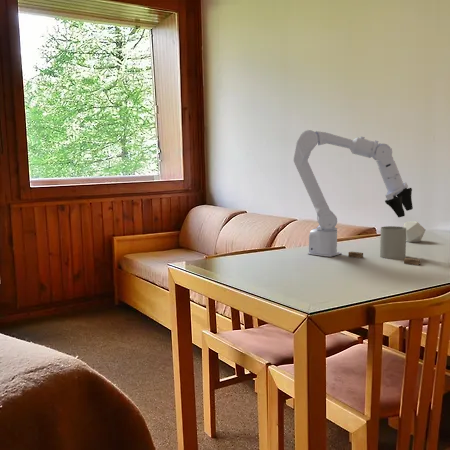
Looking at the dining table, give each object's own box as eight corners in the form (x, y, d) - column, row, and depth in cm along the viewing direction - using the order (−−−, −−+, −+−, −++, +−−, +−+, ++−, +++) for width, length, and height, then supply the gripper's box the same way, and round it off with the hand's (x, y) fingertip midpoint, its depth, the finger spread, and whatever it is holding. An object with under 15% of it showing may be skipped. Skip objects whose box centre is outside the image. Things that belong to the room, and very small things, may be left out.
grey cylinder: (408, 255, 174) (409, 227, 173) (402, 259, 167) (403, 230, 166) (383, 253, 179) (384, 225, 178) (376, 257, 172) (377, 228, 171)
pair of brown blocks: (348, 256, 174) (348, 252, 174) (351, 255, 176) (351, 251, 176) (417, 265, 158) (418, 260, 158) (420, 264, 160) (420, 259, 160)
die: (424, 245, 199) (432, 224, 202) (404, 234, 198) (412, 213, 201) (412, 249, 207) (420, 229, 210) (393, 239, 206) (401, 218, 209)
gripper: (393, 178, 165) (409, 216, 166) (409, 168, 175) (423, 204, 176) (374, 184, 170) (389, 221, 171) (391, 174, 180) (405, 209, 181)
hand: (405, 213), depth 174 cm, fingers open, 7 cm apart
